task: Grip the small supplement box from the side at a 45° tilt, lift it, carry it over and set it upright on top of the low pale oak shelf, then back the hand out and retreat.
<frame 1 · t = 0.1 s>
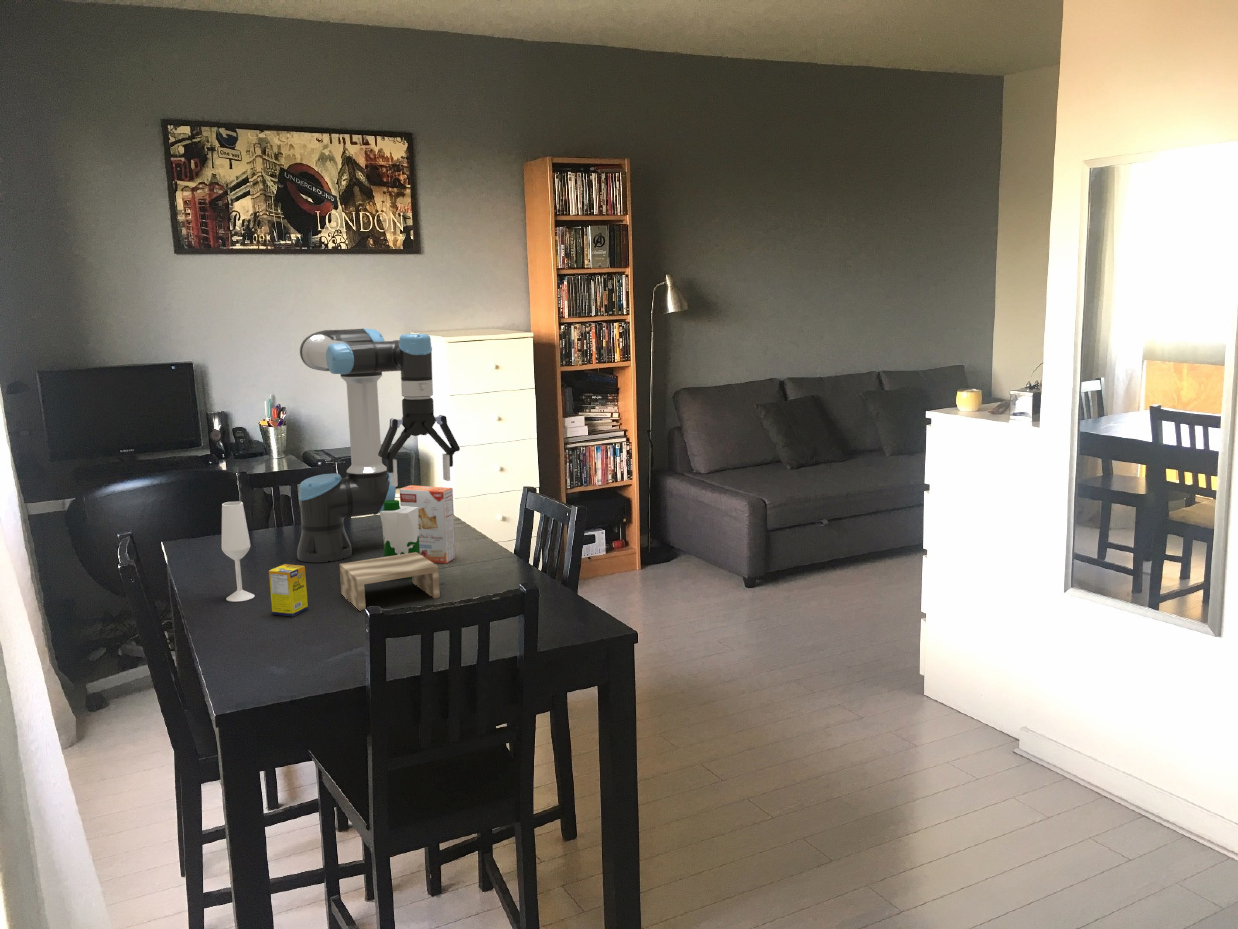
hand: (420, 482, 240), 28 cm above the table, tool pointing down, fingers open, 13 cm apart
champagne flute: (240, 598, 242), on the table
supplement box: (290, 613, 230), on the table
oak shelf: (390, 596, 241), on the table
milk carton: (403, 575, 260), on the table
cracker box: (429, 560, 274), on the table
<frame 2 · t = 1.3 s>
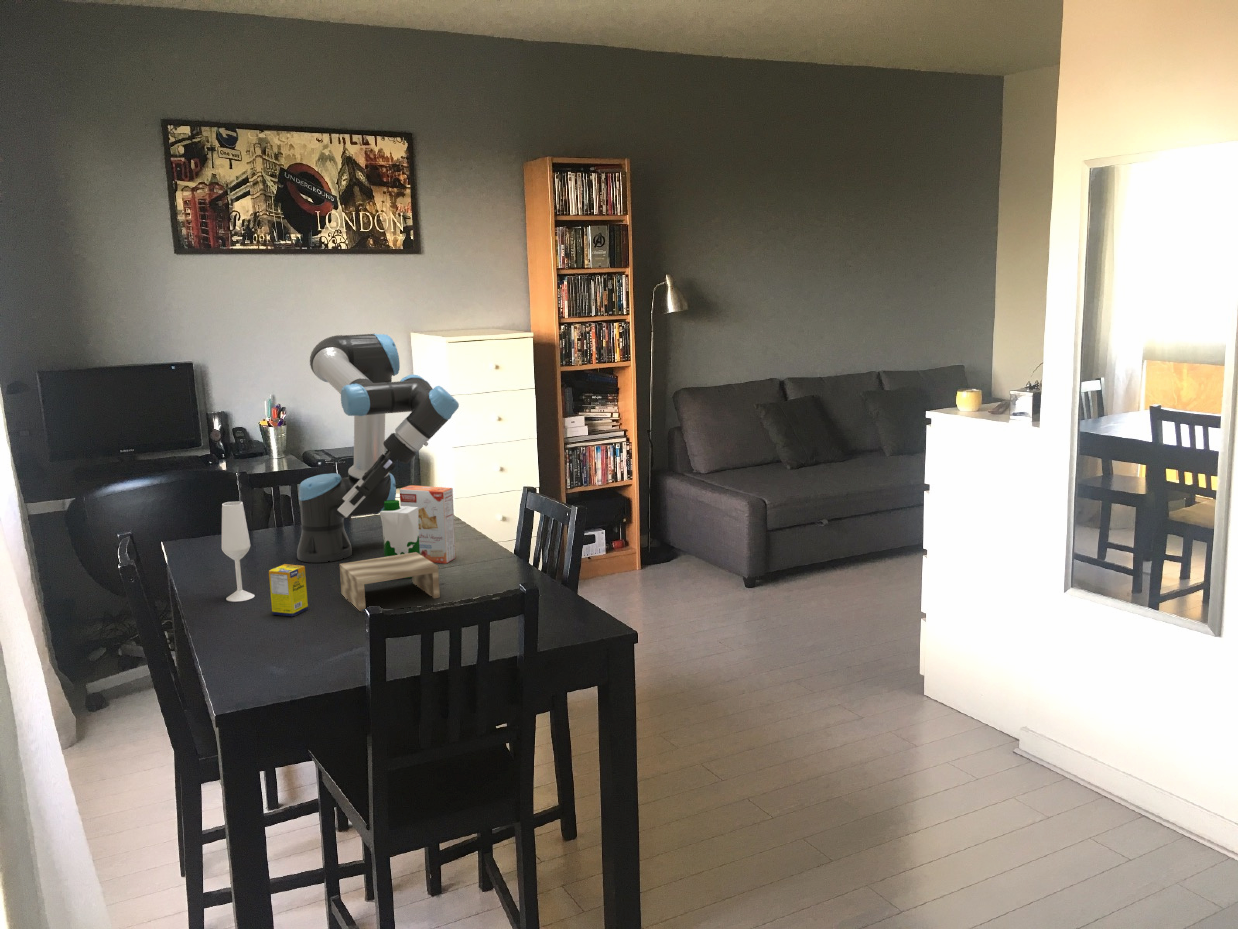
hand: (344, 507, 230), 24 cm above the table, tool tilted 45°, fingers open, 13 cm apart
nothing on the table moved.
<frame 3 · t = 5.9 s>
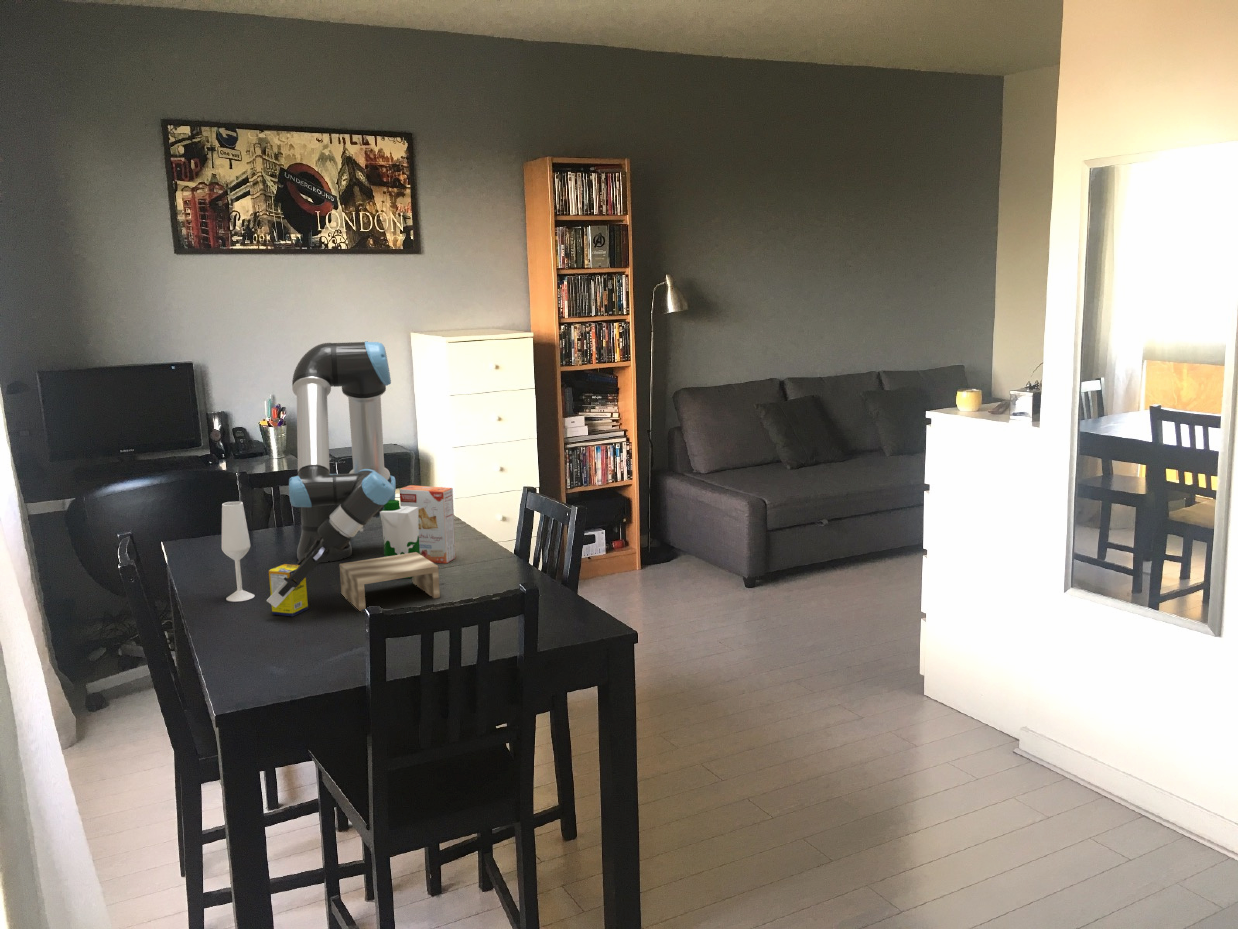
hand: (274, 598, 229), 4 cm above the table, tool tilted 45°, fingers closed on supplement box, 8 cm apart
supplement box: (290, 612, 230), on the table, touching gripper
everything else where it was.
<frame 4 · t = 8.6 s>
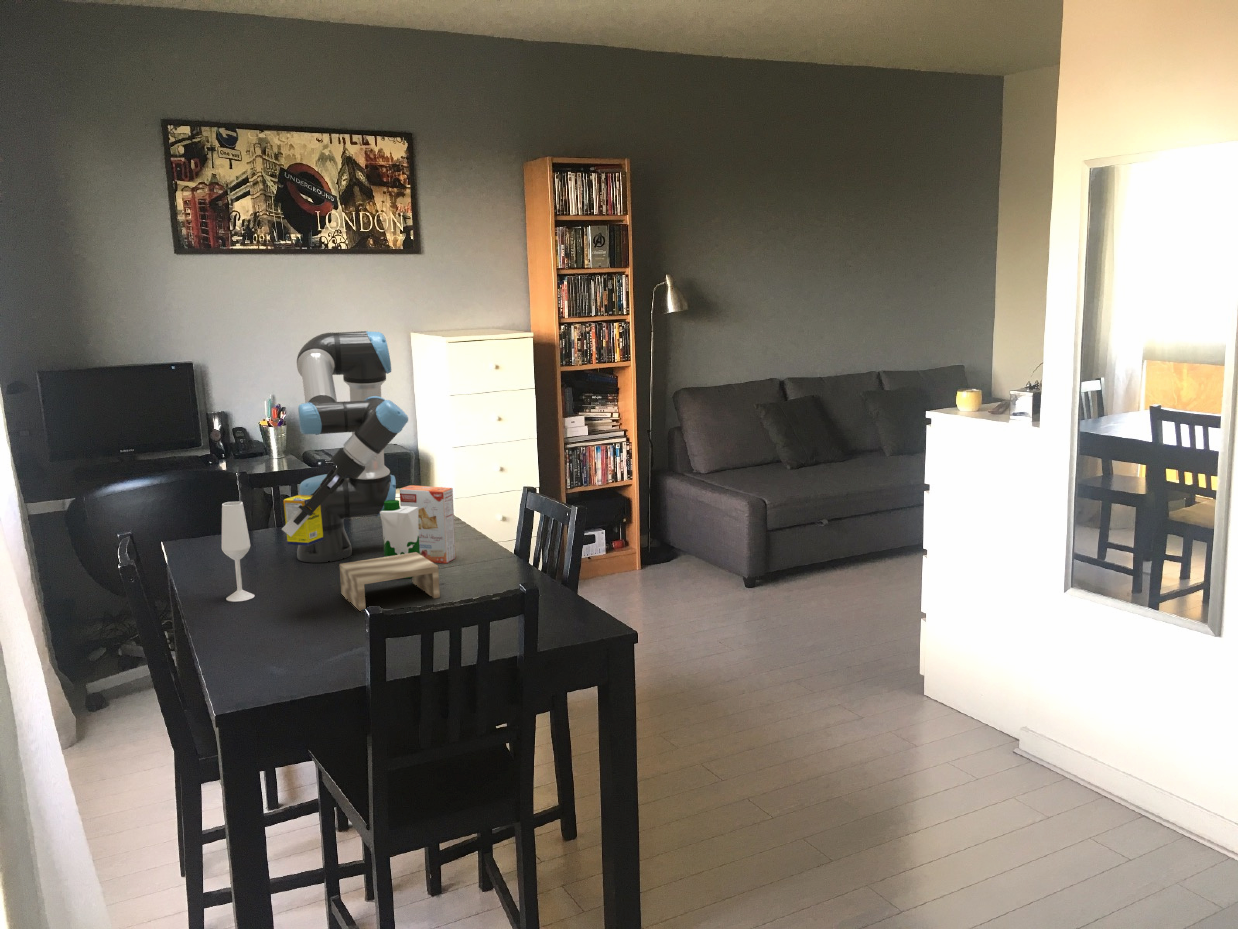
hand: (289, 528, 228), 20 cm above the table, tool tilted 45°, fingers closed on supplement box, 8 cm apart
supplement box: (305, 543, 229), point 16 cm above the table, touching gripper
everything else where it was.
when the fingers open (13 cm above the table, at t = 11.5 s): supplement box drops 1 cm, resting on oak shelf.
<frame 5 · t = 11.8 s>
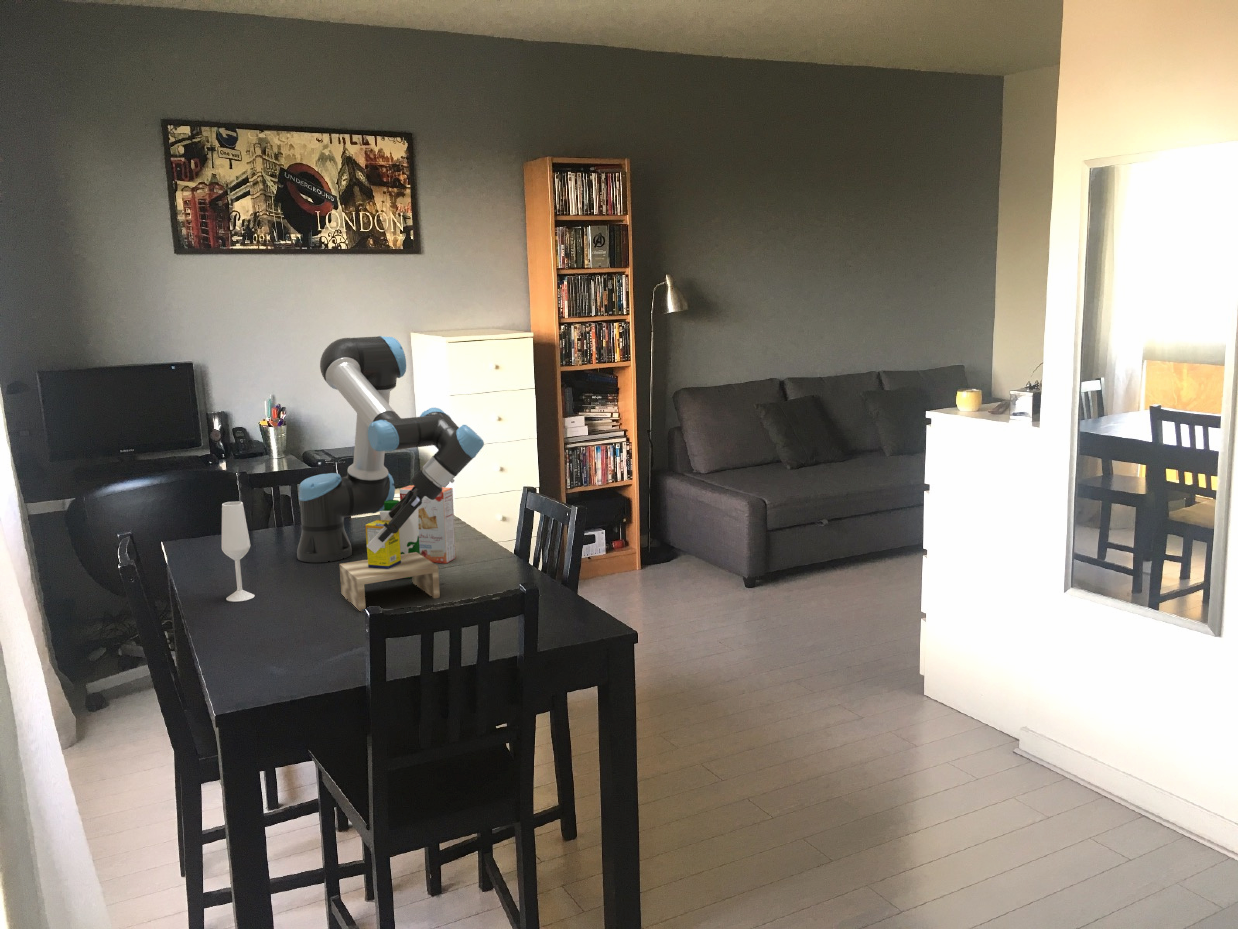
hand: (372, 543, 238), 14 cm above the table, tool tilted 45°, fingers open, 12 cm apart
supplement box: (384, 566, 240), point 8 cm above the table, touching oak shelf
everything else where it was.
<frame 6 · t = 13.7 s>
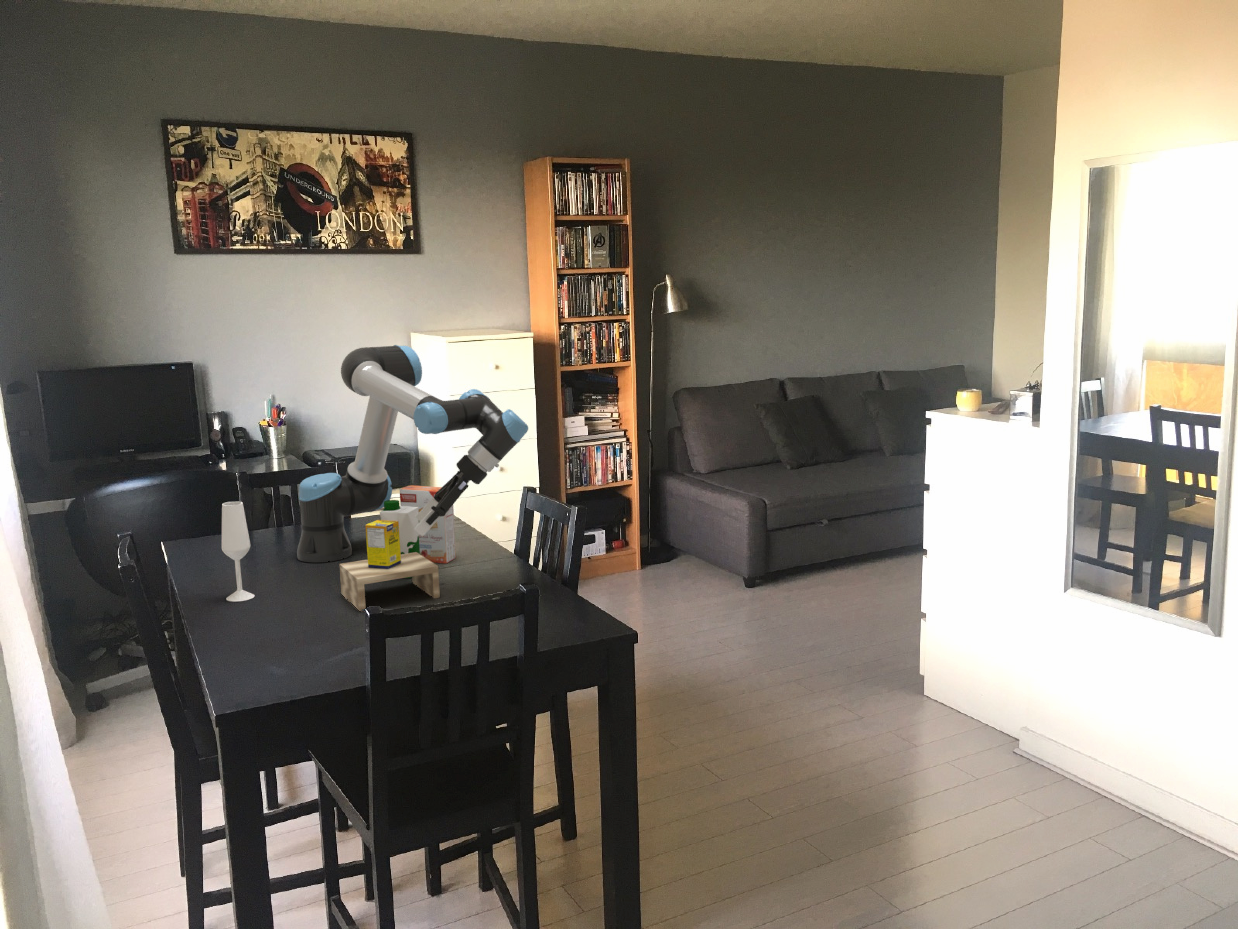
hand: (418, 526, 239), 18 cm above the table, tool tilted 45°, fingers open, 13 cm apart
nothing on the table moved.
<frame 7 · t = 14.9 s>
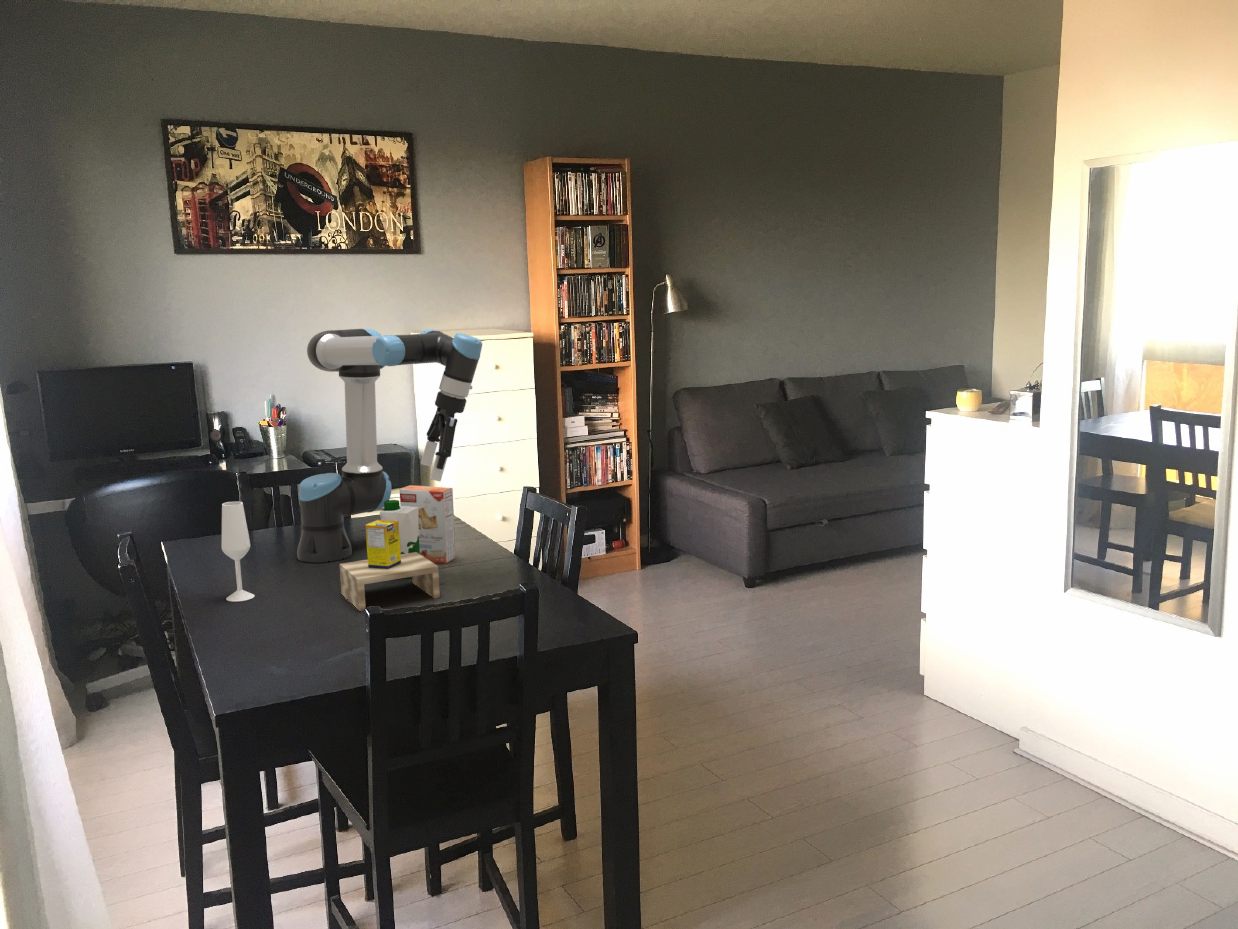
hand: (430, 472, 250), 29 cm above the table, tool tilted 20°, fingers open, 13 cm apart
nothing on the table moved.
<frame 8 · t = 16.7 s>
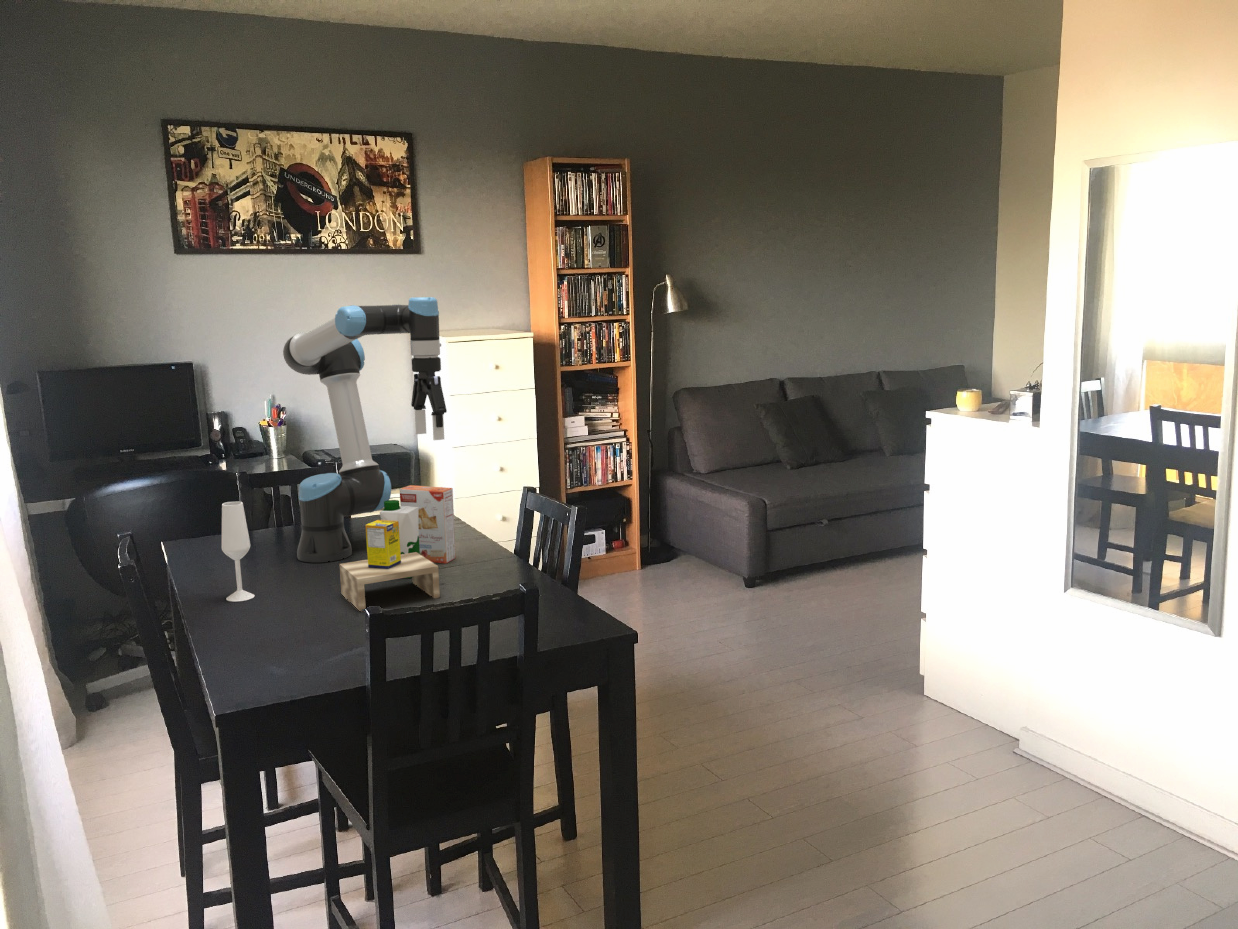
hand: (429, 436, 258), 37 cm above the table, tool pointing down, fingers open, 13 cm apart
nothing on the table moved.
at the end: supplement box inside the target area (1.4 cm from its centre), point 7.8 cm above the table; supplement box tilted 0°; the gripper is holding nothing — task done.
